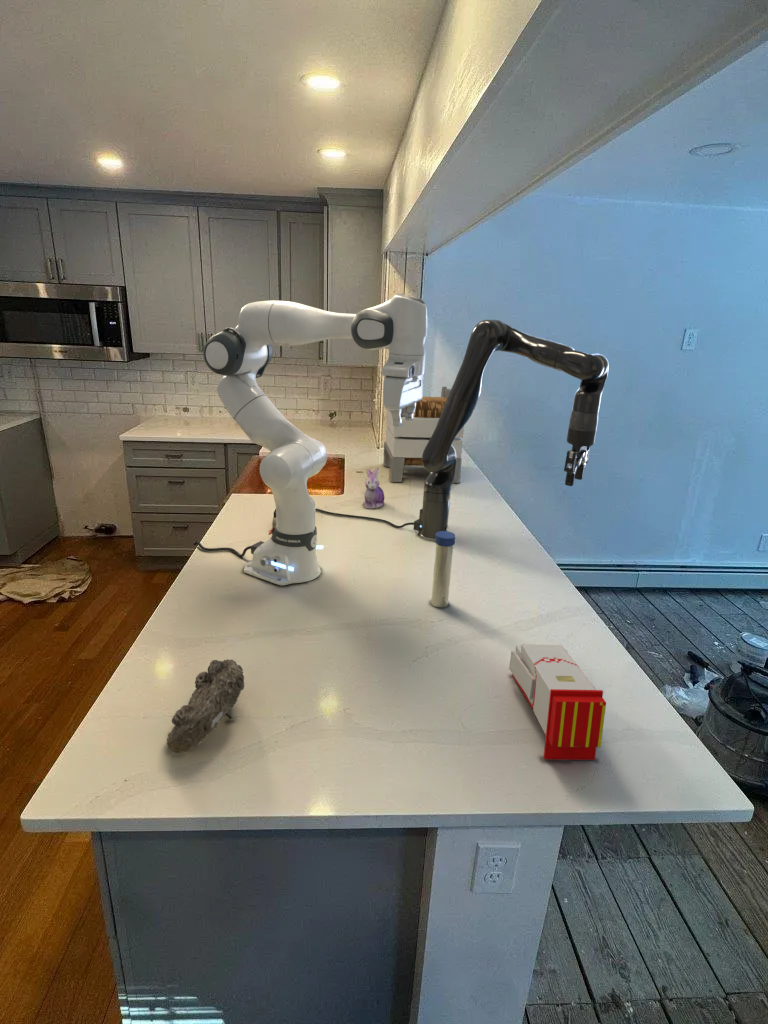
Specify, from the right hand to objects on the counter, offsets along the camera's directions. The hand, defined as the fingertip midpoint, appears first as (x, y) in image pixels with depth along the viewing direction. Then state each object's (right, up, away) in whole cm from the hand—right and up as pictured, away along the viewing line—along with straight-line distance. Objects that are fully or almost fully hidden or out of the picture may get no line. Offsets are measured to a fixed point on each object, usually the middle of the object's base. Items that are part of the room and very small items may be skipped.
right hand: (573, 482), depth 165 cm
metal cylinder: (-40, -34, -12) cm, 54 cm away
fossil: (-88, -48, -57) cm, 115 cm away
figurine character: (-91, -14, +36) cm, 99 cm away
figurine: (-60, -6, +62) cm, 86 cm away
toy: (-23, -49, -51) cm, 74 cm away
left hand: (-51, +14, -24) cm, 57 cm away
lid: (-39, -15, -18) cm, 46 cm away
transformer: (-38, +10, +110) cm, 116 cm away
